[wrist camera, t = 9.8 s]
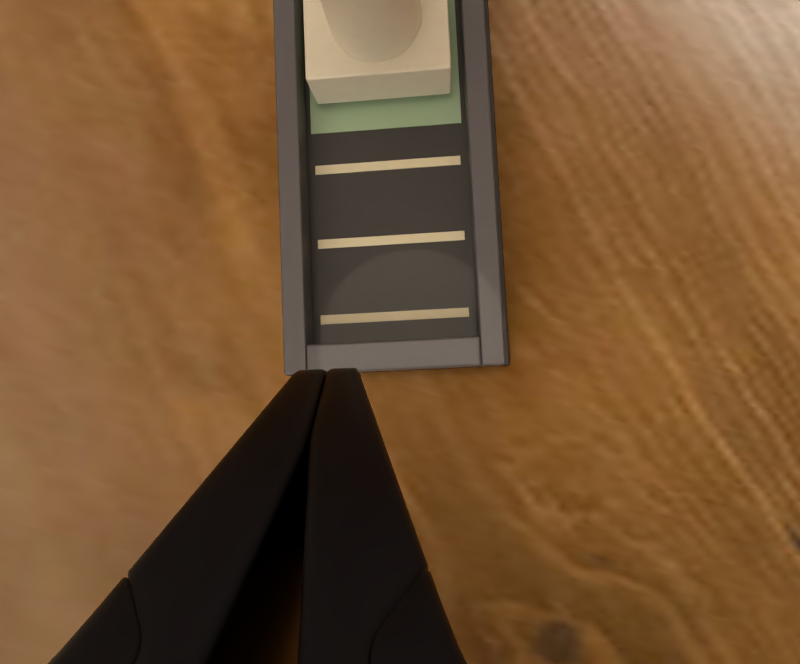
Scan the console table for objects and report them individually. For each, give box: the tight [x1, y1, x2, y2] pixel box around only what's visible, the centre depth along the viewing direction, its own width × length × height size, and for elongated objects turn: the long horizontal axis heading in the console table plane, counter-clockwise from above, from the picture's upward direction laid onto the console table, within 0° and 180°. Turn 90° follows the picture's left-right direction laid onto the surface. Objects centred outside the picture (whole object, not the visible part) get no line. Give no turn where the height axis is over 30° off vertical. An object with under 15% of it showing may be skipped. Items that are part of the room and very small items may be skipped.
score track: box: [273, 0, 510, 376], centre depth 20 cm, size 14×7×2 cm, turn 3°
